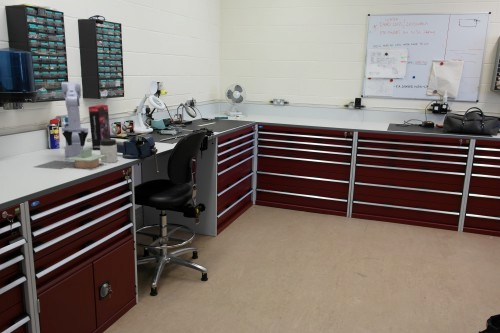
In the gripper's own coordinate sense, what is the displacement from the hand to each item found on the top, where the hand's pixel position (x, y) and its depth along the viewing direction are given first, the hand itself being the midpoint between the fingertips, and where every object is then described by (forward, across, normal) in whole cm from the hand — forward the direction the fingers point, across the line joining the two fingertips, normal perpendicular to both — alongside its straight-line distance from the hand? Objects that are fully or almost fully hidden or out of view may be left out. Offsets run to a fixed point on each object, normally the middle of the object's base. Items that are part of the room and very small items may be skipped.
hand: (76, 145), depth 217 cm
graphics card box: (+10, -17, +48) cm, 52 cm away
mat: (+10, -9, -4) cm, 14 cm away
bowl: (+10, +7, -2) cm, 13 cm away
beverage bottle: (+10, -34, +42) cm, 55 cm away
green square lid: (+6, +7, -2) cm, 9 cm away
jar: (+11, +11, +12) cm, 20 cm away
